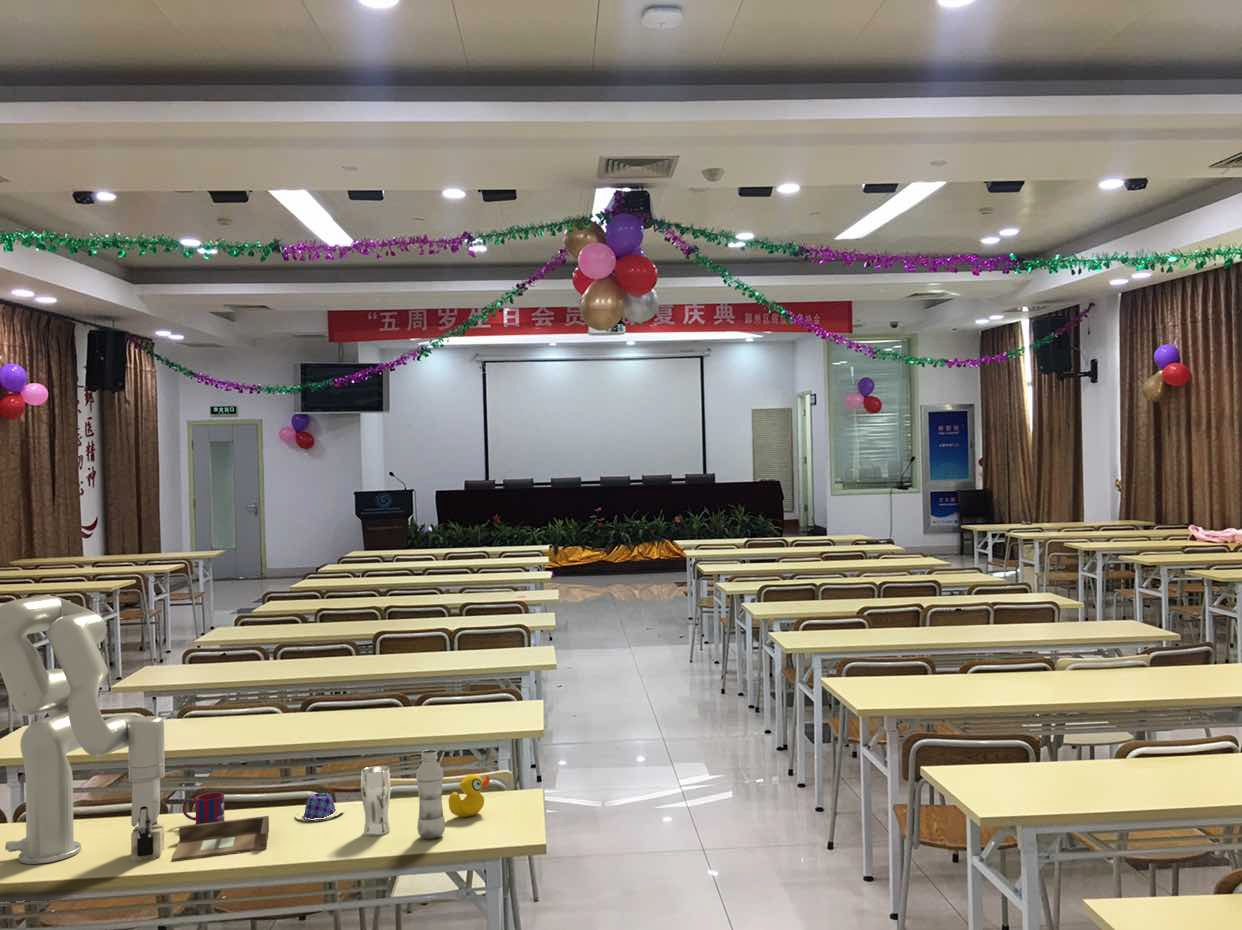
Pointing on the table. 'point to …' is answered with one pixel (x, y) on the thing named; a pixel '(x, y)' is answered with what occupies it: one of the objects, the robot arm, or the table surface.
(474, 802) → the duckling
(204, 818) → the mug
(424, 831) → the plastic bottle
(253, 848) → the wooden tray
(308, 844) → the table surface
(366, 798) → the beer glass
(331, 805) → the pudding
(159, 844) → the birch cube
